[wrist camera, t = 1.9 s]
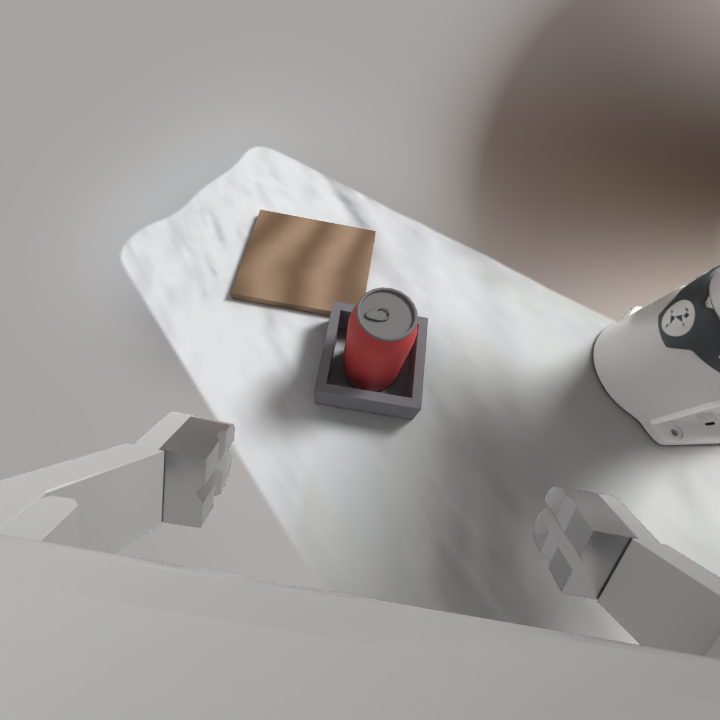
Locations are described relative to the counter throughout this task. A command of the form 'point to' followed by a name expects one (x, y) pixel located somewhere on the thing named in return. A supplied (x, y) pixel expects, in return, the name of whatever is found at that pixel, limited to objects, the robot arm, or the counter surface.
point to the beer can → (379, 338)
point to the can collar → (364, 398)
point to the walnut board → (304, 263)
